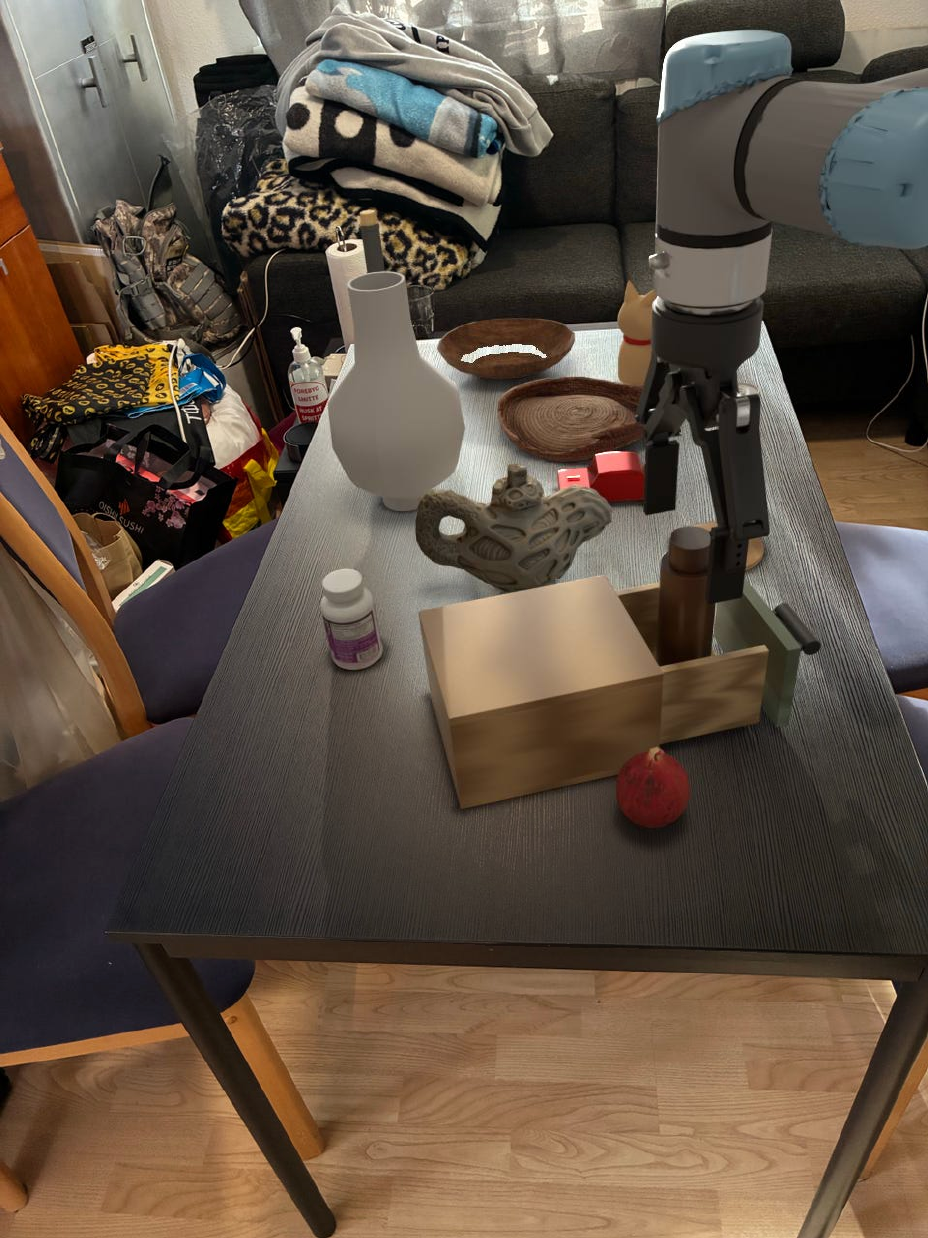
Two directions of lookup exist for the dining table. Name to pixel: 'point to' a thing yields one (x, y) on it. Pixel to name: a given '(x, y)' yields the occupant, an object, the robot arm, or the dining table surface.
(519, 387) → the basket
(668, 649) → the pepper mill
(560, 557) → the teapot
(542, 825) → the dining table surface
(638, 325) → the figurine
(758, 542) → the coaster
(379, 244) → the wine bottle
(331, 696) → the dining table surface
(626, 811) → the red pomegranate
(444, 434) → the vase
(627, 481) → the toy car
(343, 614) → the pill bottle
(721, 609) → the drawer
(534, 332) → the bowl
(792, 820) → the dining table surface
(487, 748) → the cabinet
